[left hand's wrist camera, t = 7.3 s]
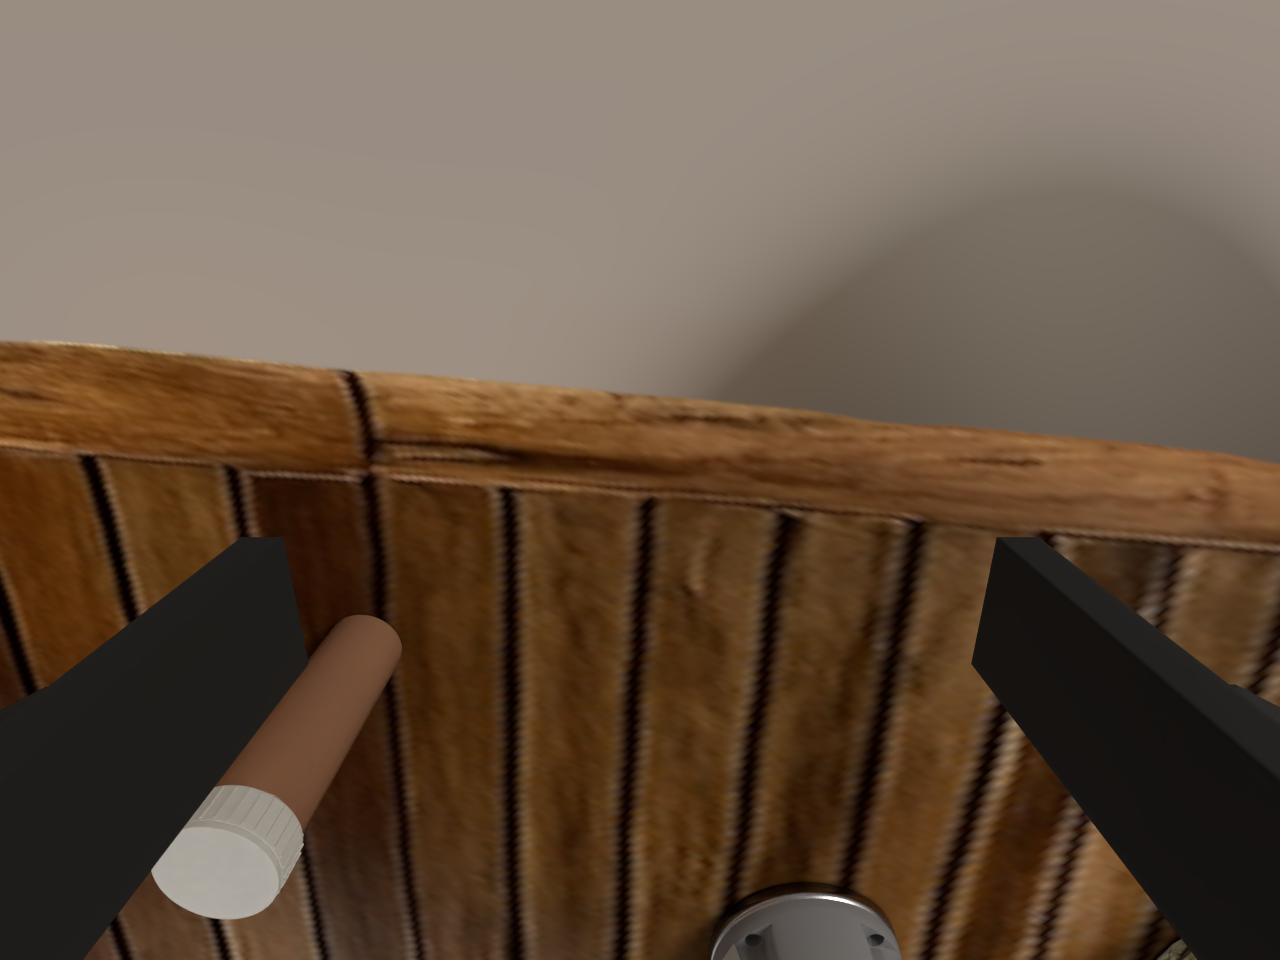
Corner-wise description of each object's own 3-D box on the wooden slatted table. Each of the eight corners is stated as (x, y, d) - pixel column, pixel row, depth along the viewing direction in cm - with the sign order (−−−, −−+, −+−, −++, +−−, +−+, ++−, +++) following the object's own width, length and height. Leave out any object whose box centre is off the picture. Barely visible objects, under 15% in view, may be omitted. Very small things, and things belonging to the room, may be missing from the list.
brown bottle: (314, 635, 46) (139, 852, 30) (371, 602, 45) (222, 807, 29) (360, 686, 47) (218, 920, 31) (417, 655, 46) (299, 879, 30)
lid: (157, 814, 31) (120, 859, 29) (248, 764, 30) (217, 806, 28) (241, 889, 33) (212, 937, 31) (330, 844, 32) (306, 890, 30)
